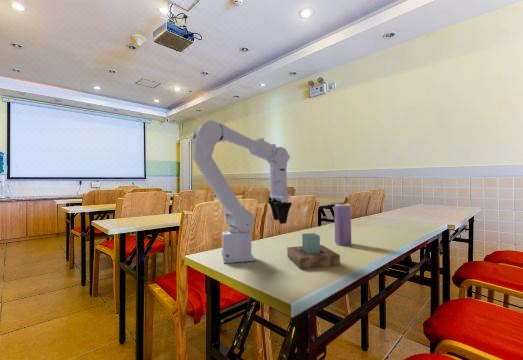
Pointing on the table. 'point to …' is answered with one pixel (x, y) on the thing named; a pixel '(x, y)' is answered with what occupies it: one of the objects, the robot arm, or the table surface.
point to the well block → (313, 258)
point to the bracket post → (311, 243)
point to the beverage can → (342, 224)
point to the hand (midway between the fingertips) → (279, 221)
